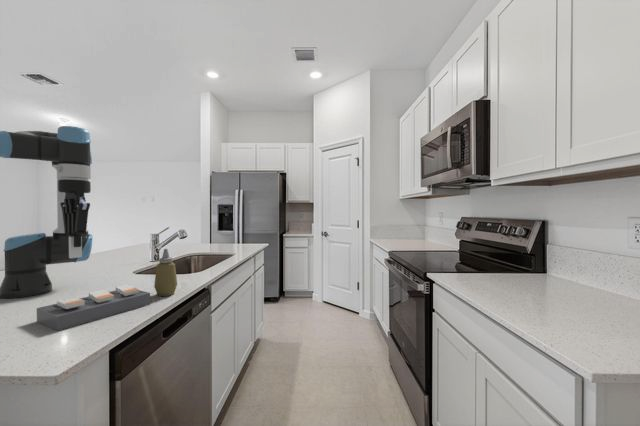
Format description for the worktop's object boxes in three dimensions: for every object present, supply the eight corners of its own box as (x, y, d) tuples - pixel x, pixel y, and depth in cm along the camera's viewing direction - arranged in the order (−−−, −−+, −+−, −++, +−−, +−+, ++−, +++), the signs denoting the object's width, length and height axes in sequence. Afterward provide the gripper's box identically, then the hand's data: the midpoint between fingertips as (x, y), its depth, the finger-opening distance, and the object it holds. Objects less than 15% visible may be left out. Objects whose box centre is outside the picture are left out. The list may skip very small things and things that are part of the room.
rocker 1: (57, 305, 88) (57, 300, 88) (75, 301, 91) (75, 296, 91) (66, 309, 85) (66, 304, 85) (84, 304, 89) (84, 300, 89)
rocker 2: (115, 290, 102) (115, 286, 102) (128, 287, 106) (129, 283, 105) (125, 296, 99) (125, 292, 99) (138, 292, 103) (138, 289, 103)
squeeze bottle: (167, 298, 111) (167, 250, 111) (149, 296, 113) (149, 250, 112) (181, 292, 119) (181, 247, 119) (164, 290, 121) (164, 247, 120)
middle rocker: (88, 296, 95) (88, 292, 94) (103, 292, 99) (104, 289, 98) (97, 302, 92) (98, 299, 92) (113, 299, 96) (113, 295, 96)
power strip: (28, 317, 91) (27, 302, 91) (118, 295, 114) (118, 283, 114) (57, 331, 81) (57, 314, 81) (150, 304, 104) (150, 291, 104)
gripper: (49, 179, 88) (50, 257, 89) (69, 177, 82) (70, 261, 83) (79, 181, 95) (80, 253, 96) (99, 180, 88) (100, 257, 89)
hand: (75, 257), depth 89 cm, fingers closed
